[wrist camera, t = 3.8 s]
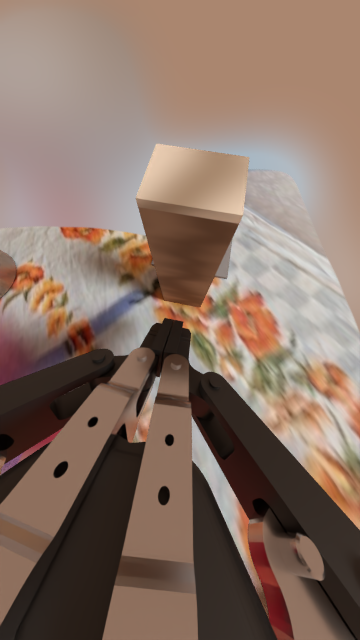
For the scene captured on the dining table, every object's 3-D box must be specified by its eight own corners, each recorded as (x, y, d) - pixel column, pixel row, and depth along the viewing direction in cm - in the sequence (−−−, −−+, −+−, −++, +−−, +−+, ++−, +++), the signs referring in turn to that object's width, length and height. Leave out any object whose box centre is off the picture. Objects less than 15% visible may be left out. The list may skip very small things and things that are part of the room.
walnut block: (164, 300, 18) (135, 197, 6) (170, 274, 19) (156, 143, 7) (200, 307, 18) (242, 215, 6) (204, 281, 19) (249, 157, 7)
